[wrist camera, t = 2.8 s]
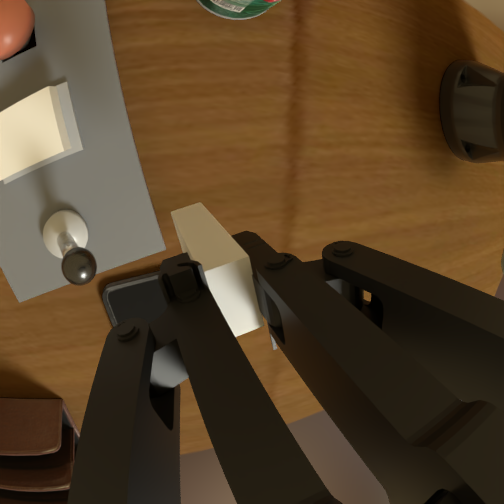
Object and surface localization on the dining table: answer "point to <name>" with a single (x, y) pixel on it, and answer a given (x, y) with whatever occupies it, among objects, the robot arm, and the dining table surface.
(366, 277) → the robot arm
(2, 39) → the push button
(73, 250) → the toggle lever
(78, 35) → the control panel
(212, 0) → the canned tomato
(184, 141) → the dining table surface
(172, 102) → the dining table surface
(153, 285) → the phone
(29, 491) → the letter holder
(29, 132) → the rocker switch
